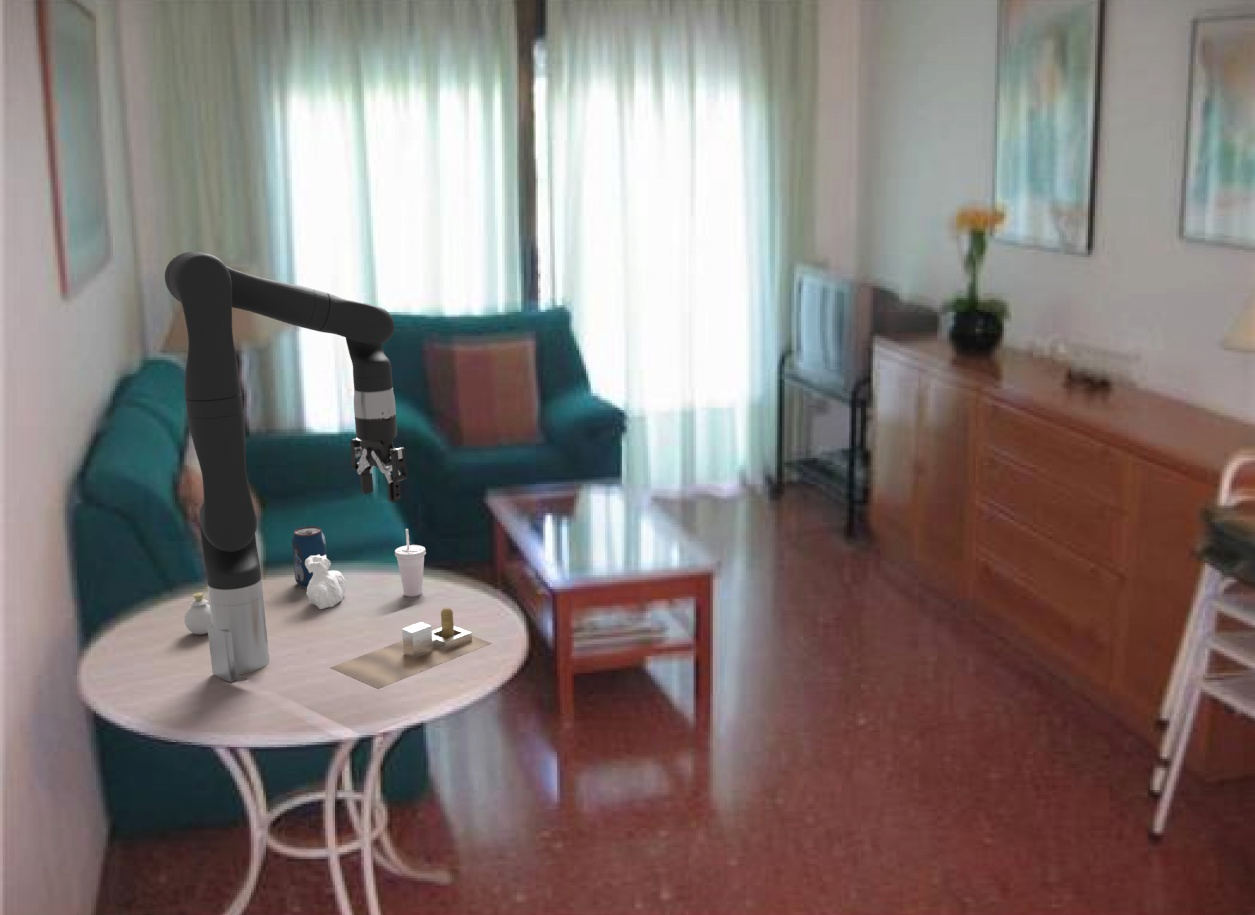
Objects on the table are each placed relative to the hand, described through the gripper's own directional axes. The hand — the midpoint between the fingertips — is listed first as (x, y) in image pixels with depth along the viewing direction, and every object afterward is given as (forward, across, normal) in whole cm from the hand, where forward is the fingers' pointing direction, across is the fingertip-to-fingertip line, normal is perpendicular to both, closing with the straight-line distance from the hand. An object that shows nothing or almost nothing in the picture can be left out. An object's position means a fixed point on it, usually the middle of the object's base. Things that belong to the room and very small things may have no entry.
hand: (381, 497), depth 243 cm
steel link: (+26, +14, 0) cm, 30 cm away
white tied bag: (+28, -25, +2) cm, 38 cm away
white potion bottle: (+28, -28, -23) cm, 46 cm away
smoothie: (+28, -15, +17) cm, 36 cm away
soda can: (+28, -37, +7) cm, 47 cm away
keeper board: (+28, +14, -6) cm, 32 cm away
